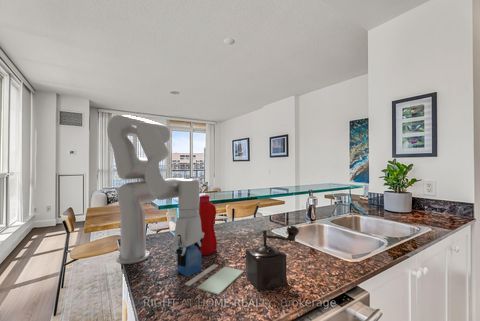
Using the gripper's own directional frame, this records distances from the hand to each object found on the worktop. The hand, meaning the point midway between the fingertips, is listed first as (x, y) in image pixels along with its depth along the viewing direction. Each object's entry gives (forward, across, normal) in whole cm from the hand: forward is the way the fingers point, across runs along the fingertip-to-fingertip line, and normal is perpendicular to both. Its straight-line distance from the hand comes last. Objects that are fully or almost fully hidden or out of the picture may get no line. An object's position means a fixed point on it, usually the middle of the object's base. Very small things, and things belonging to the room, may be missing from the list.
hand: (189, 261), depth 83 cm
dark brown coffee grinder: (+4, -8, +29) cm, 30 cm away
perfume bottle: (+4, 0, 0) cm, 4 cm away
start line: (+3, 0, +6) cm, 7 cm away
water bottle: (+4, -17, -7) cm, 19 cm away
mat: (+3, 0, +14) cm, 15 cm away
